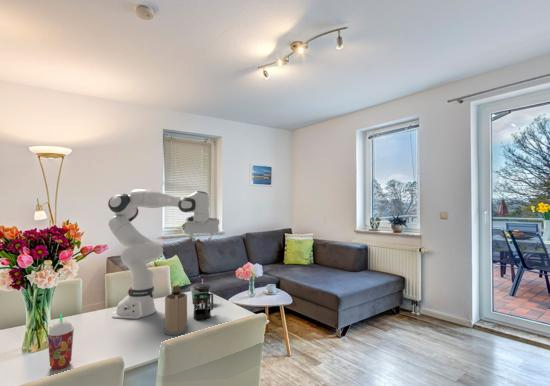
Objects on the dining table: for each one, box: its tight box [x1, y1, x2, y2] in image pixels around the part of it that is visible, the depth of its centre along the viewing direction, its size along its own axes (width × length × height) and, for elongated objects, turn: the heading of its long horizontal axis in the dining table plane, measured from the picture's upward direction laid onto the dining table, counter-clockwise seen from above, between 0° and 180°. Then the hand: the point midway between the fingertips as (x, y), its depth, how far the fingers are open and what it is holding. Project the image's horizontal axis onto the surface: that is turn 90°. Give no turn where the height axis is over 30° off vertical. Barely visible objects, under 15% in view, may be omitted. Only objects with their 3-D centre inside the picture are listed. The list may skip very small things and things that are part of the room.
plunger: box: [171, 284, 181, 299], centre depth 150 cm, size 7×7×16 cm
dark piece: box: [189, 286, 210, 305], centre depth 188 cm, size 12×6×10 cm, turn 88°
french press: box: [192, 274, 214, 322], centre depth 167 cm, size 12×9×23 cm
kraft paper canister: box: [163, 292, 189, 337], centre depth 151 cm, size 11×13×17 cm
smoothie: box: [47, 313, 75, 370], centre depth 119 cm, size 8×8×20 cm
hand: (201, 241), depth 184 cm, fingers open, 8 cm apart
